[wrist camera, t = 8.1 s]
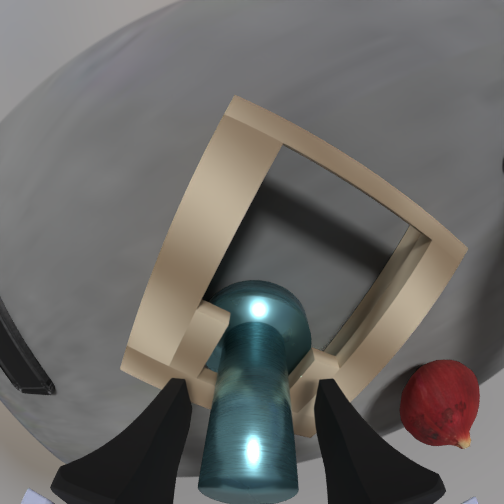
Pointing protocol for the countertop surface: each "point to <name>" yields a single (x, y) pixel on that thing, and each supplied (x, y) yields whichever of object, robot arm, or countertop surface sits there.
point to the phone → (20, 359)
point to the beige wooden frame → (218, 239)
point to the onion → (441, 403)
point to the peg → (254, 396)
